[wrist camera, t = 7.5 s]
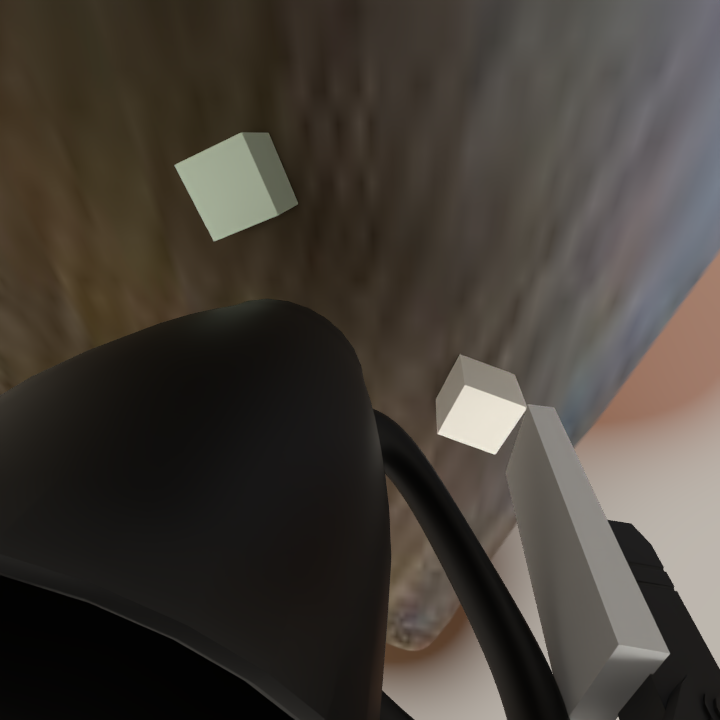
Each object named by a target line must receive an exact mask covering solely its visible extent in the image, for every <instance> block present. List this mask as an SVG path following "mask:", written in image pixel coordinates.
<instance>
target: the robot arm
mask: <svg viewBox="0 0 720 720" xmlns="http://www.w3.org/2000/svg"><path fill="white" fill-rule="evenodd" d="M506 478H507V482H508V486H509V490H510V495H511V499H512V503H513V507H514V511H515V516H516V520H517V524H518V528H519V532H520V537H521V541H522V545H523V549H524V554H525V558H526V562H527V566H528V570H529V575H530V579H531V583H532V587H533V592H534V596H535V600H536V604H537V609H538V613H539V617H540V621H541V625H542V629H543V634H544V638H545V643H546V647H547V651H548V655H549V659H550V663H551V668H552V672H553V676H554V678H555V681H556V683H557V685H558V688H559V690H560V693H561V695H562V698H563V701H564V703H565V706H566V710H567V713H568V717H569V718H570V720H616V718H617V717H619V720H720V669H719V667H718V666H717V664H716V662H715V660H714V658H713V656H712V655H711V653H710V651H709V649H708V647H707V645H706V643H705V642H704V640H703V638H702V636H701V634H700V632H699V631H698V629H697V627H696V625H695V623H694V622H693V620H692V618H691V616H690V614H689V612H688V611H687V609H686V607H685V605H684V604H683V602H682V600H681V598H680V596H679V594H678V592H677V591H674V585H673V583H672V582H671V580H670V578H669V576H668V574H667V573H666V572H664V570H663V565H662V563H661V561H660V560H659V558H658V556H657V554H656V552H655V551H654V549H653V547H652V545H651V544H650V543H649V542H648V541H647V540H646V539H645V538H644V536H643V535H642V534H641V533H640V532H639V531H637V529H636V528H635V527H634V526H633V525H632V524H630V523H624V522H617V521H611V520H607V519H606V516H605V514H604V512H603V510H602V508H601V506H600V504H599V502H598V499H597V497H596V495H595V493H594V491H593V489H592V487H591V484H590V482H589V480H588V478H587V476H586V474H585V472H584V470H583V467H582V465H581V463H580V461H579V459H578V457H577V455H576V453H575V450H574V448H573V446H572V444H571V442H570V440H569V438H568V436H567V433H566V431H565V429H564V427H563V425H562V423H561V421H560V419H559V416H558V414H557V412H556V410H555V408H553V407H546V406H538V405H531V404H528V405H527V408H526V411H525V414H524V417H523V420H522V423H521V426H520V429H519V433H518V436H517V439H516V442H515V445H514V448H513V451H512V454H511V457H510V460H509V463H508V466H507V469H506Z"/></svg>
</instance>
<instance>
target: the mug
mask: <svg viewBox="0 0 720 720" xmlns="http://www.w3.org/2000/svg"><path fill="white" fill-rule="evenodd" d="M385 474H386V475H387V476H388V477H389V479H390V480H391V481H392V482H393V483H394V485H395V486H396V487H397V489H398V490H399V492H400V493H401V494H402V496H403V497H404V499H405V501H406V502H407V504H408V505H409V507H410V508H411V510H412V512H413V513H414V515H415V517H416V519H417V520H418V522H419V524H420V526H421V527H422V529H423V531H424V533H425V535H426V536H427V538H428V540H429V542H430V544H431V546H432V548H433V550H434V551H435V553H436V555H437V557H438V559H439V561H440V563H441V565H442V567H443V569H444V571H445V573H446V575H447V577H448V579H449V581H450V583H451V585H452V587H453V589H454V591H455V593H456V595H457V597H458V599H459V601H460V603H461V605H462V607H463V609H464V611H465V613H466V615H467V617H468V620H469V622H470V624H471V626H472V628H473V630H474V633H475V635H476V637H477V639H478V641H479V644H480V646H481V648H482V651H483V653H484V655H485V658H486V660H487V662H488V665H489V667H490V670H491V672H492V675H493V677H494V680H495V683H496V685H497V689H498V691H499V694H500V697H501V700H502V704H503V707H504V710H505V714H506V717H507V720H570V718H569V717H568V713H567V710H566V706H565V703H564V701H563V698H562V695H561V693H560V690H559V688H558V685H557V683H556V681H555V678H554V676H553V674H552V671H551V669H550V667H549V665H548V663H547V661H546V659H545V657H544V655H543V653H542V651H541V649H540V647H539V645H538V643H537V641H536V639H535V637H534V636H533V634H532V632H531V630H530V628H529V626H528V624H527V623H526V621H525V619H524V617H523V616H522V614H521V612H520V610H519V608H518V607H517V605H516V603H515V601H514V600H513V598H512V596H511V595H510V593H509V591H508V589H507V588H506V586H505V584H504V583H503V581H502V579H501V578H500V576H499V574H498V573H497V571H496V569H495V568H494V566H493V564H492V563H491V561H490V559H489V558H488V556H487V554H486V553H485V551H484V549H483V548H482V546H481V544H480V543H479V541H478V539H477V538H476V536H475V534H474V533H473V531H472V529H471V528H470V526H469V525H468V523H467V521H466V520H465V518H464V516H463V515H462V513H461V511H460V510H459V508H458V507H457V505H456V503H455V502H454V500H453V498H452V497H451V495H450V494H449V492H448V490H447V489H446V487H445V486H444V484H443V482H442V481H441V479H440V478H439V476H438V475H437V473H436V472H435V470H434V468H433V467H432V465H431V464H430V462H429V461H428V460H427V458H426V457H425V455H424V454H423V452H422V451H421V450H420V448H419V447H418V446H417V444H416V443H415V442H414V441H413V440H412V438H411V437H410V436H409V435H408V434H407V433H406V432H405V431H404V430H403V429H402V428H401V427H400V426H399V425H398V424H397V423H396V422H394V421H393V420H392V419H390V418H389V417H388V416H386V415H384V414H383V413H381V412H379V411H377V410H375V409H373V408H372V405H371V401H370V398H369V395H368V392H367V389H366V386H365V382H364V379H363V373H362V368H361V364H360V362H359V359H358V357H357V355H356V353H355V350H354V348H353V347H352V345H351V344H350V343H349V341H348V340H347V339H346V337H345V336H344V335H343V333H342V332H341V331H340V330H339V329H337V328H336V327H335V326H334V325H333V324H332V323H331V322H330V321H328V320H327V319H326V318H324V317H323V316H321V315H319V314H317V313H316V312H314V311H312V310H311V309H309V308H306V307H303V306H301V305H298V304H295V303H292V302H289V301H281V300H273V299H262V300H252V301H246V302H244V303H241V304H238V305H234V306H229V307H224V308H218V309H212V310H207V311H203V312H198V313H194V314H189V315H186V316H183V317H179V318H176V319H173V320H169V321H166V322H163V323H160V324H157V325H154V326H152V327H149V328H146V329H143V330H141V331H138V332H135V333H133V334H130V335H127V336H125V337H122V338H120V339H117V340H114V341H112V342H109V343H107V344H104V345H101V346H99V347H96V348H94V349H91V350H88V351H86V352H84V353H82V354H79V355H77V356H75V357H73V358H71V359H69V360H67V361H65V362H62V363H60V364H58V365H56V366H54V367H52V368H50V369H47V370H45V371H43V372H41V373H39V374H37V375H35V376H32V377H30V378H29V379H27V380H25V381H24V382H22V383H20V384H19V385H17V386H15V387H14V388H12V389H10V390H9V391H7V392H5V393H4V394H2V395H0V720H414V719H413V718H412V717H411V716H409V715H408V714H407V713H406V712H405V711H404V710H402V709H401V708H400V707H399V706H398V705H397V704H396V703H395V702H394V701H393V700H392V699H391V698H390V697H388V696H387V695H386V694H385V693H384V692H383V691H382V682H383V669H384V657H385V644H386V631H387V618H388V602H389V586H390V570H391V542H390V519H389V504H388V496H387V487H386V479H385Z"/></svg>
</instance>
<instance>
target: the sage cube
mask: <svg viewBox="0 0 720 720" xmlns="http://www.w3.org/2000/svg"><path fill="white" fill-rule="evenodd" d="M174 166H175V168H176V170H177V171H178V173H179V175H180V177H181V179H182V181H183V183H184V185H185V187H186V189H187V191H188V193H189V195H190V196H191V198H192V200H193V202H194V204H195V206H196V208H197V210H198V212H199V214H200V216H201V218H202V219H203V221H204V223H205V225H206V227H207V229H208V231H209V233H210V235H211V237H212V239H213V241H217V240H219V239H222V238H224V237H227V236H229V235H231V234H234V233H236V232H239V231H241V230H244V229H246V228H249V227H251V226H253V225H256V224H258V223H261V222H263V221H266V220H268V219H271V218H273V217H275V216H278V215H280V214H282V213H283V212H285V211H287V210H289V209H291V208H292V207H294V206H296V205H298V202H297V199H296V197H295V194H294V192H293V190H292V187H291V185H290V183H289V180H288V178H287V175H286V173H285V171H284V168H283V166H282V163H281V161H280V159H279V156H278V154H277V152H276V149H275V147H274V144H273V142H272V140H271V137H270V135H269V133H250V132H241V133H239V134H237V135H235V136H233V137H231V138H229V139H227V140H225V141H223V142H221V143H219V144H217V145H215V146H213V147H211V148H209V149H206V150H204V151H202V152H200V153H198V154H196V155H194V156H192V157H190V158H188V159H186V160H184V161H182V162H180V163H178V164H176V165H174Z"/></svg>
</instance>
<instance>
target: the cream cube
mask: <svg viewBox="0 0 720 720" xmlns="http://www.w3.org/2000/svg"><path fill="white" fill-rule="evenodd" d="M526 408H527V406H526V403H525V400H524V398H523V395H522V392H521V390H520V387H519V385H518V382H517V379H516V377H515V374H512V373H510V372H507V371H504V370H501V369H499V368H496V367H493V366H491V365H488V364H485V363H482V362H480V361H477V360H474V359H472V358H469V357H466V356H463V355H461V354H460V355H459V357H458V358H457V360H456V362H455V364H454V366H453V368H452V370H451V372H450V374H449V375H448V377H447V379H446V381H445V383H444V385H443V387H442V389H441V390H440V392H439V394H438V396H437V398H436V418H437V434H439V435H442V436H445V437H447V438H450V439H453V440H456V441H458V442H461V443H464V444H467V445H470V446H472V447H475V448H478V449H481V450H484V451H486V452H489V453H492V454H496V453H497V451H498V450H499V448H500V447H501V445H502V444H503V443H504V441H505V440H506V438H507V437H508V435H509V434H510V432H511V431H512V429H513V428H514V426H515V425H516V423H517V422H518V421H519V419H520V418H521V416H522V415H523V413H524V412H525V410H526Z"/></svg>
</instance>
